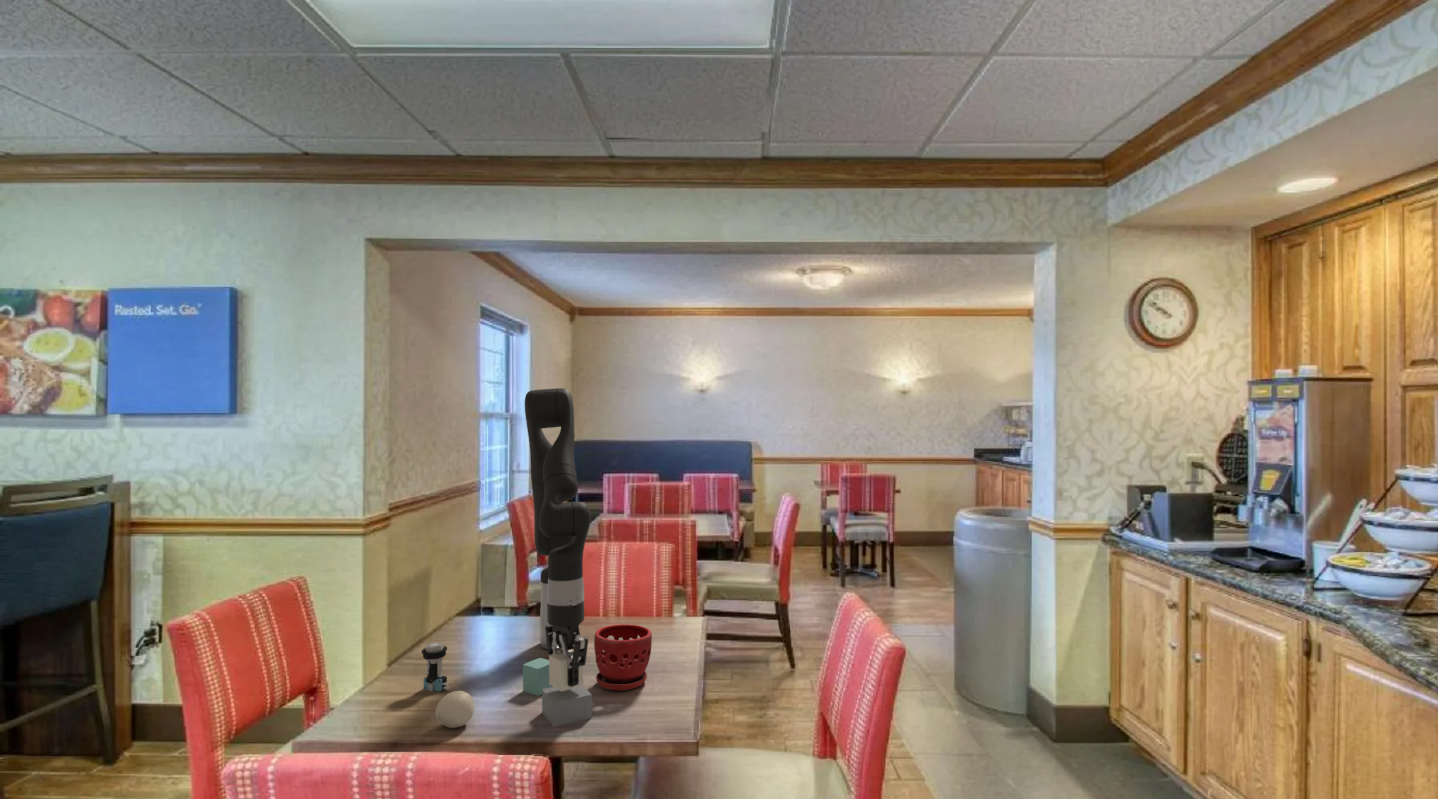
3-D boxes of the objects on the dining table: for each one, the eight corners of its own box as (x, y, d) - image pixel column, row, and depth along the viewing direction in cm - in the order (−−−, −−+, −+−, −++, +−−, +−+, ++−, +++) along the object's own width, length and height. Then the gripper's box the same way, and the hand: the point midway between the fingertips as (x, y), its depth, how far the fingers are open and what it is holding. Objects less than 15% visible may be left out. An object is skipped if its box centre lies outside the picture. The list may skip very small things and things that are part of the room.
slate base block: (542, 713, 146) (542, 689, 146) (579, 704, 150) (579, 681, 150) (553, 728, 139) (553, 703, 139) (591, 719, 143) (591, 694, 143)
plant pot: (627, 699, 152) (627, 644, 152) (582, 687, 159) (582, 634, 159) (663, 679, 163) (662, 627, 163) (619, 668, 170) (619, 619, 170)
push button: (457, 686, 160) (456, 642, 160) (441, 695, 155) (441, 650, 155) (432, 683, 162) (432, 640, 162) (416, 692, 157) (416, 647, 157)
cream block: (549, 684, 144) (549, 655, 145) (570, 677, 148) (570, 649, 148) (561, 691, 141) (561, 661, 141) (583, 684, 144) (582, 655, 144)
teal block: (523, 691, 157) (522, 664, 157) (540, 683, 161) (539, 657, 161) (538, 696, 154) (538, 668, 154) (555, 688, 158) (555, 661, 158)
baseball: (438, 720, 142) (438, 687, 142) (475, 716, 144) (475, 684, 144) (432, 735, 136) (432, 701, 136) (471, 731, 137) (471, 697, 137)
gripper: (532, 595, 147) (533, 676, 147) (566, 609, 137) (567, 697, 136) (564, 589, 152) (565, 667, 152) (599, 602, 142) (600, 686, 141)
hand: (566, 681), depth 144 cm, fingers closed on cream block, 5 cm apart
